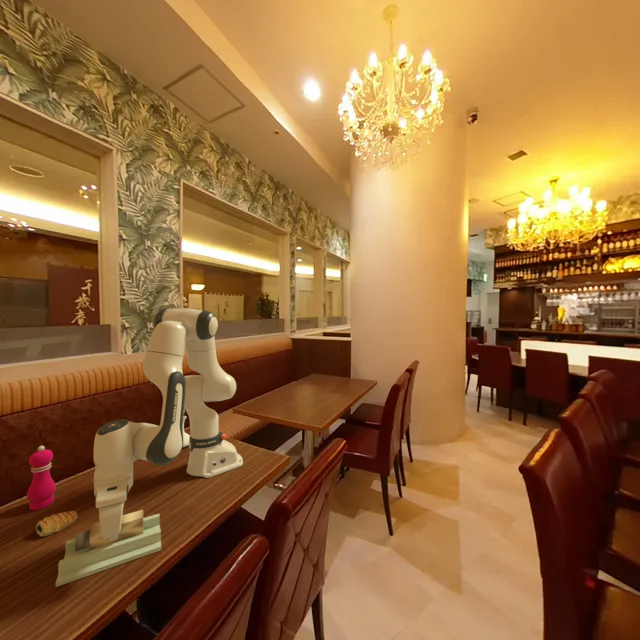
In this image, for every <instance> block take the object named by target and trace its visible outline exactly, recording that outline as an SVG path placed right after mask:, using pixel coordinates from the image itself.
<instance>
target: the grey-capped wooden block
mask: <svg viewBox="0 0 640 640" xmlns="http://www.w3.org/2000/svg"><path fill="white" fill-rule="evenodd" d="M143 518H144V509H140V510H138V511H134V512H133V511H132V512H130V513H126V514H123V515H122V523H121V530H120V533H119V534H118V538H117V539H116V540H113V541H110V538H106V539H103V537H102V535H101V528H100V521H97V522H94V523H91V526H90V529H88V530H85V531H81V532H78V533H76V534H75V538H76V539H75V538H74V539H75V551H79V550H82V549H85V548H89V547H90V551H91V550H94V549H97V548H101V547H104V546H107V545H110V544H113V543H116V542H119V541H123V540H126V539H129V538H132V537H135V536H138V535H141V534H143Z"/></svg>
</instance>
